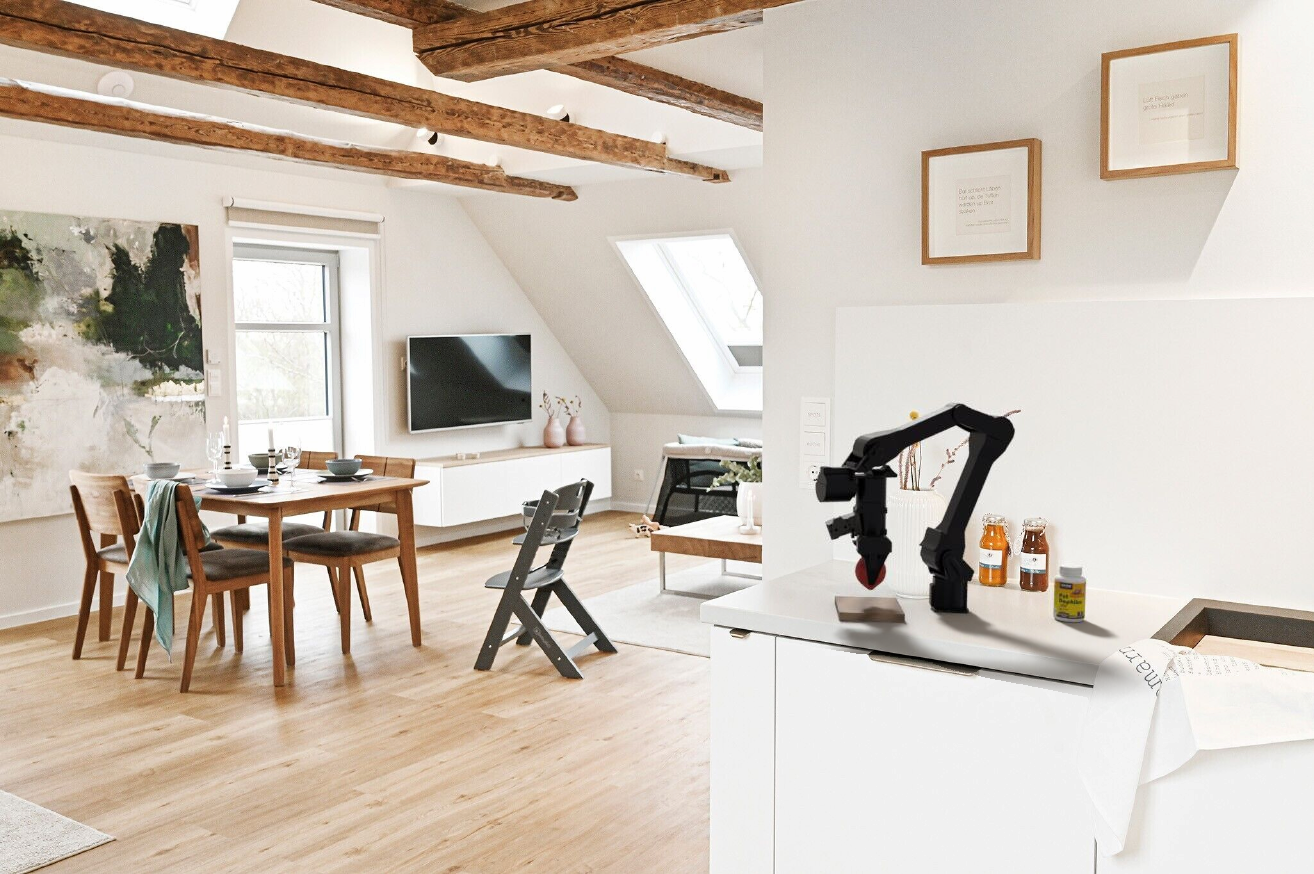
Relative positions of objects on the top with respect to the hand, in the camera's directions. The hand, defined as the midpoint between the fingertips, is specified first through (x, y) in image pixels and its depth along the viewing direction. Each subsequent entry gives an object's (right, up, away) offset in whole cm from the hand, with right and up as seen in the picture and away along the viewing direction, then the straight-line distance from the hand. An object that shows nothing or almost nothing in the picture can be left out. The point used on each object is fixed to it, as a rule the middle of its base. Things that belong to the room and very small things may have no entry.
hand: (869, 581), depth 207 cm
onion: (0, -2, 0) cm, 2 cm away
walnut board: (0, -6, 0) cm, 6 cm away
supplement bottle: (+37, -7, -4) cm, 37 cm away
